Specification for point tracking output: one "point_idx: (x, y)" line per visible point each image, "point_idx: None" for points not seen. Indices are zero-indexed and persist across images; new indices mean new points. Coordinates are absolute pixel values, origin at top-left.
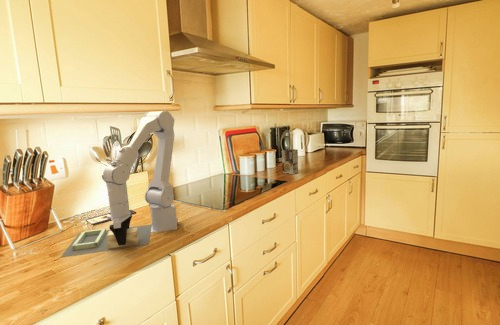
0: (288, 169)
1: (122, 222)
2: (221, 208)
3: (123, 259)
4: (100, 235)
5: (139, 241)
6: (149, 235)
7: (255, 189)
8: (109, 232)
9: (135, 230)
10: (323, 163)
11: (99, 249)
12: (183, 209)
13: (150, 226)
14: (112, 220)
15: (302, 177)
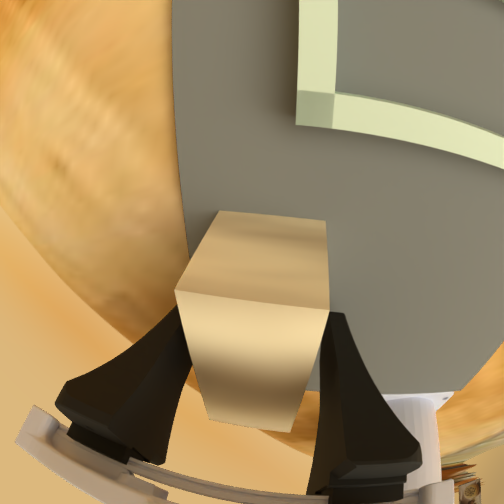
0: (468, 489)
1: (327, 444)
2: None
3: (96, 283)
4: (487, 151)
5: None
6: None
7: (454, 476)
8: (268, 313)
9: (233, 421)
10: None
11: (224, 141)
12: (497, 424)
13: (443, 389)
14: (67, 472)
15: None
